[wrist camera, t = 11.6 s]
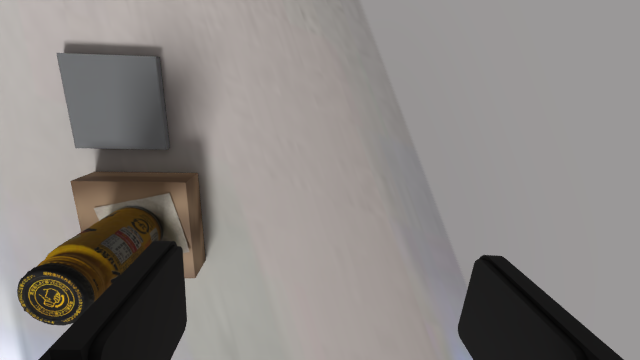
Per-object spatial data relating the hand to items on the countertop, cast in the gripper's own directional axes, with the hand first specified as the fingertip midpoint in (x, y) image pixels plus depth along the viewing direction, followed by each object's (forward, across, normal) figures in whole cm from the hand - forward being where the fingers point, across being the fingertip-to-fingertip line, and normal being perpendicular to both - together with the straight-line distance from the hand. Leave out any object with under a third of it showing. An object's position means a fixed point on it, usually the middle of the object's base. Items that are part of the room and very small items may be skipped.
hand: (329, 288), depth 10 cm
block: (+28, +19, +11) cm, 36 cm away
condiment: (+24, +18, +11) cm, 32 cm away
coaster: (+28, +22, -3) cm, 36 cm away
